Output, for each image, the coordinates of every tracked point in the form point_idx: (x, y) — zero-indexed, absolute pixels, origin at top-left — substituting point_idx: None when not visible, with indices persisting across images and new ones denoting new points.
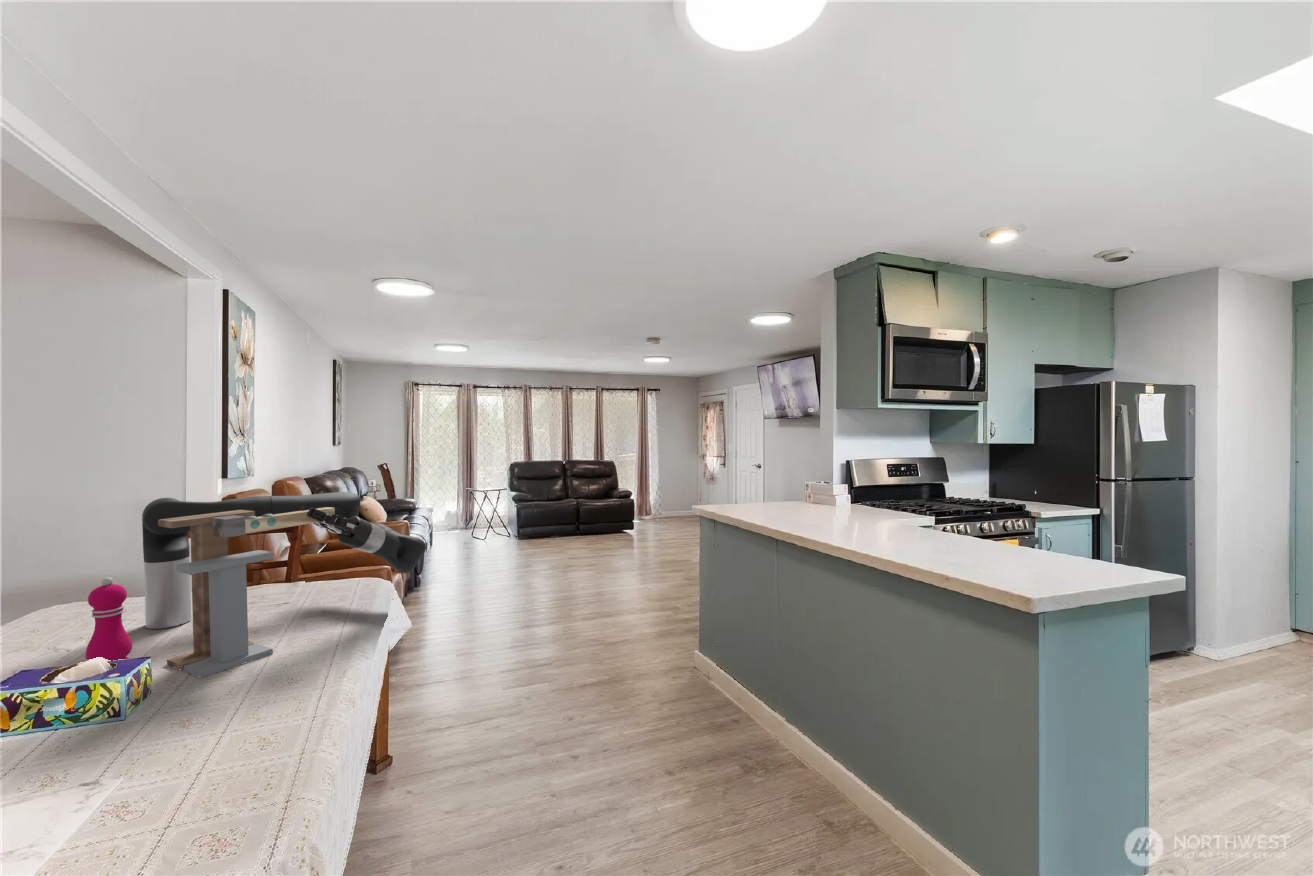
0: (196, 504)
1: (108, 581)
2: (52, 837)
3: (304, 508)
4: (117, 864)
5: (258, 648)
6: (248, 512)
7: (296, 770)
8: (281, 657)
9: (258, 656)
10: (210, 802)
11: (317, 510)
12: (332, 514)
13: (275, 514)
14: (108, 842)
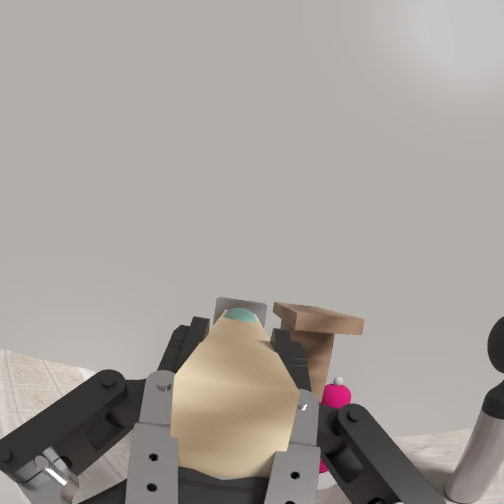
0: None
1: (333, 380)
2: (88, 374)
3: (272, 334)
4: (52, 362)
5: None
6: (294, 312)
7: (9, 376)
8: None
9: None
10: (38, 373)
11: (186, 336)
12: (115, 371)
13: (258, 324)
14: (63, 368)
